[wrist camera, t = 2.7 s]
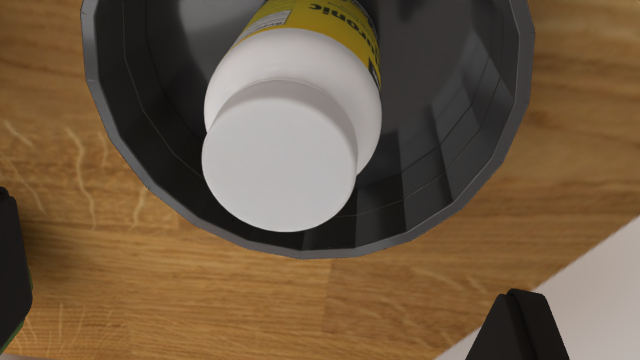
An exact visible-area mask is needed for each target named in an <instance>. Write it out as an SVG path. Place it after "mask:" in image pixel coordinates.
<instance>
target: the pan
mask: <svg viewBox="0 0 640 360" xmlns="http://www.w3.org/2000/svg"><path fill="white" fill-rule="evenodd" d="M267 1H268V0H83V3H82V6H81V13H80V17H81V29H82V42H83V54H84V66H85V78H86V82H87V85H88V87H89V90H90V92H91V95H92V97H93V100H94V102H95V104H96V107H97V109H98V112H99V114H100V117H101V119H102V122H103V124H104V127H105V129H106V132H107V134H108V137H109V139H110V141H111V142H112V143H113V145H114V146H115V147H116V149H117V150H118V151H119V153H120V154H121V155H122V156H123V158H124V159H125V160H126V162H127V163H128V164H129V166H130V167H131V168H132V169H133V171H134V172H135V173H136V175H137V176H138V177H139V179H140V180H141V181H142V183H143V184H144V185H145V186H146V188H148V190H150V191H151V192H152V193H153V194H155V195H156V196H157V197H159V198H160V199H161V200H162V201H164V202H165V203H166V204H167V205H169V206H170V207H171V208H173V209H174V210H175V211H176V212H178V213H179V214H180V215H181V216H183V217H184V218H185V219H187V220H188V221H189V222H190V223H192V224H194V225H195V226H197V227H199V228H201V229H203V230H206V231H208V232H210V233H212V234H215V235H217V236H219V237H221V238H223V239H226V240H228V241H230V242H232V243H234V244H237V245H239V246H241V247H243V248H247V249H250V250H255V251H260V252H265V253H270V254H275V255H281V256H286V257H291V258H296V259H303V260H304V259H325V258H346V257H360V256H363V255H366V254H369V253H373V252H376V251H379V250H382V249H386V248H389V247H392V246H396V245H399V244H402V243H405V242H409V241H412V239H413V240H414V239H415V238H417V237H419V236H420V235H422V234H423V233H425V232H427V231H428V230H430V229H431V228H433V227H435V226H436V225H438V224H439V223H441V222H442V221H444V220H446V219H447V218H449V217H450V216H452V215H454V214H455V213H457V212H458V211H460V210H461V209H462V208H464V207H465V205H466V204H467V203H468V202H469V201H470V200H471V199H472V198H473V196H474V195H475V194H476V193H477V192H478V191H479V190H480V188H481V187H482V186H483V185H484V184H485V183H486V182H487V181H488V179H489V178H490V177H491V176H492V175H493V174H494V173H495V171H496V170H497V169H498V168H499V167H500V166H501V165H502V162H504V160H505V157H506V155H507V153H508V150H509V148H510V146H511V144H512V141H513V139H514V137H515V134H516V132H517V130H518V128H519V125H520V123H521V121H522V119H523V116H524V114H525V112H526V109H527V107H528V105H529V101H530V91H531V79H532V67H533V55H534V43H535V28H534V24H533V20H532V17H531V13H530V9H529V6H528V2H527V0H356V1H357V2H358V3H359V4H360V5H361V6H362V7H363V8H364V9H365V11H366V12H367V14H368V15H369V17H370V19H371V20H372V22H373V25H374V27H375V30H376V33H377V37H378V42H379V49H380V74H381V100H382V122H381V131H380V136H379V140H378V143H377V146H376V149H375V151H374V153H373V155H372V157H371V158H370V160H369V162H368V163H367V164H366V166H365V167H364V168H363V169H362V171H361V172H360V173H359V174H358V175H357V176H356V180H355V184H354V188H353V190H352V193H351V195H350V197H349V199H348V201H347V202H346V203H345V205H344V206H343V207H342V208H341V210H340V211H339V212H338V213H337V214H336V215H334V216H333V217H332V218H330V219H329V220H327V221H326V222H324V223H322V224H320V225H318V226H316V227H313V228H310V229H306V230H301V231H294V232H277V231H270V230H265V229H262V228H258V227H255V226H252V225H250V224H248V223H246V222H244V221H242V220H240V219H238V218H237V217H235V216H234V215H233V214H231V213H230V212H229V211H227V210H226V209H225V208H224V207H223V206H222V205H221V204H220V203H219V201H218V200H217V199H216V198H215V196H214V195H213V193H212V192H211V190H210V188H209V186H208V184H207V182H206V180H205V177H204V173H203V169H202V149H203V144H204V140H205V137H206V135H207V131H206V126H205V119H204V103H205V96H206V92H207V88H208V85H209V83H210V80H211V78H212V76H213V74H214V72H215V70H216V68H217V66H218V65H219V63H220V62H221V60H222V59H223V57H224V56H225V55H226V54H227V52H228V51H229V49H230V48H231V47H232V45H233V44H234V43H235V41H236V40H237V38H238V37H239V36H240V34H241V33H242V32H243V30H244V29H245V27H246V26H247V25H248V23H249V22H250V21H251V19H252V18H253V17H254V15H255V14H256V13H257V11H258V10H259V9H260V8H261V7H262V5H263V4H265V3H266V2H267Z"/></svg>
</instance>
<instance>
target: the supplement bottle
mask: <svg viewBox="0 0 640 360" xmlns="http://www.w3.org/2000/svg"><path fill="white" fill-rule="evenodd" d="M204 119H205V126H206V131H207V135H206V137H205V140H204V144H203V149H202V169H203V173H204V177H205V180H206V182H207V184H208V186H209V188H210V190H211V192H212V193H213V195H214V196H215V198H216V199H217V200H218V201H219V203H220V204H221V205H222V206H223V207H224V208H225V209H226V210H227V211H229V212H230V213H231V214H233V215H234V216H235V217H237V218H238V219H240V220H242V221H244V222H246V223H248V224H250V225H252V226H255V227H258V228H262V229H265V230H270V231H277V232H294V231H301V230H306V229H310V228H313V227H316V226H318V225H320V224H322V223H324V222H326V221H327V220H329V219H330V218H332V217H333V216H334V215H336V214H337V213H338V212H339V211H340V210H341V208H342V207H343V206H344V205H345V203H346V202H347V201H348V199H349V197H350V195H351V193H352V190H353V188H354V184H355V180H356V176H357V175H358V174H359V173H360V172H361V171H362V169H363V168H364V167H365V166H366V164H367V163H368V162H369V160H370V158H371V157H372V155H373V153H374V151H375V149H376V146H377V143H378V140H379V136H380V131H381V122H382V100H381V74H380V49H379V42H378V37H377V33H376V30H375V27H374V25H373V22H372V20H371V19H370V17H369V15H368V14H367V12H366V11H365V9H364V8H363V7H362V6H361V5H360V4H359V3H358V2H357V1H356V0H268V1H267V2H266V3H265V4H263V5H262V7H261V8H260V9H259V10H258V11H257V13H256V14H255V15H254V17H253V18H252V19H251V21H250V22H249V23H248V25H247V26H246V27H245V29H244V30H243V32H242V33H241V34H240V36H239V37H238V38H237V40H236V41H235V43H234V44H233V45H232V47H231V48H230V49H229V51H228V52H227V54H226V55H225V56H224V57H223V59H222V60H221V62H220V63H219V65H218V66H217V68H216V70H215V72H214V74H213V76H212V78H211V80H210V83H209V85H208V88H207V92H206V96H205V103H204Z"/></svg>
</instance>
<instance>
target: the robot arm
mask: <svg viewBox="0 0 640 360" xmlns="http://www.w3.org/2000/svg"><path fill="white" fill-rule="evenodd" d="M32 300H33V297H32V290H31V284H30V278H29V273H28V267H27V261H26V255H25V250H24V244H23V238H22V232H21V227H20V221H19V215H18V209H17V204H16V200H15V199H14V198H13V197H11V196H9V193H8V191H7V190H6V189H5V188H4V187H1V186H0V350H1V348H2V347H3V346H4V344H5V343H6V342H7V340H8V339H9V338H10V337H11V335H12V334H13V333H14V331H15V330H16V329H17V327H18V326H19V325H20V323H21V322H22V321H23V320H24V318H25V317H26V316H27V314H28V312H29V310H30V308H31V305H32ZM465 360H570V359H569V356H568V354H567V351H566V348H565V346H564V343H563V341H562V338H561V336H560V333H559V331H558V328H557V325H556V322H555V320H554V317H553V315H552V312H551V310H550V307H549V305H548V302H547V300H546V298H545V296H544V295H542V294H539V293H534V292H529V291H524V290H519V289H510V290H509V291H508V292H507V294H506V295H505V294H499V295H498V296H497V298H496V300H495V302H494V304H493V306H492V308H491V310H490V312H489V314H488V316H487V318H486V320H485V322H484V323H483V325H482V327H481V329H480V331H479V333H478V335H477V338H476V339H475V341H474V343H473V345H472V347H471V349H470V351H469V353H468V355H467V357H466V359H465Z"/></svg>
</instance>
